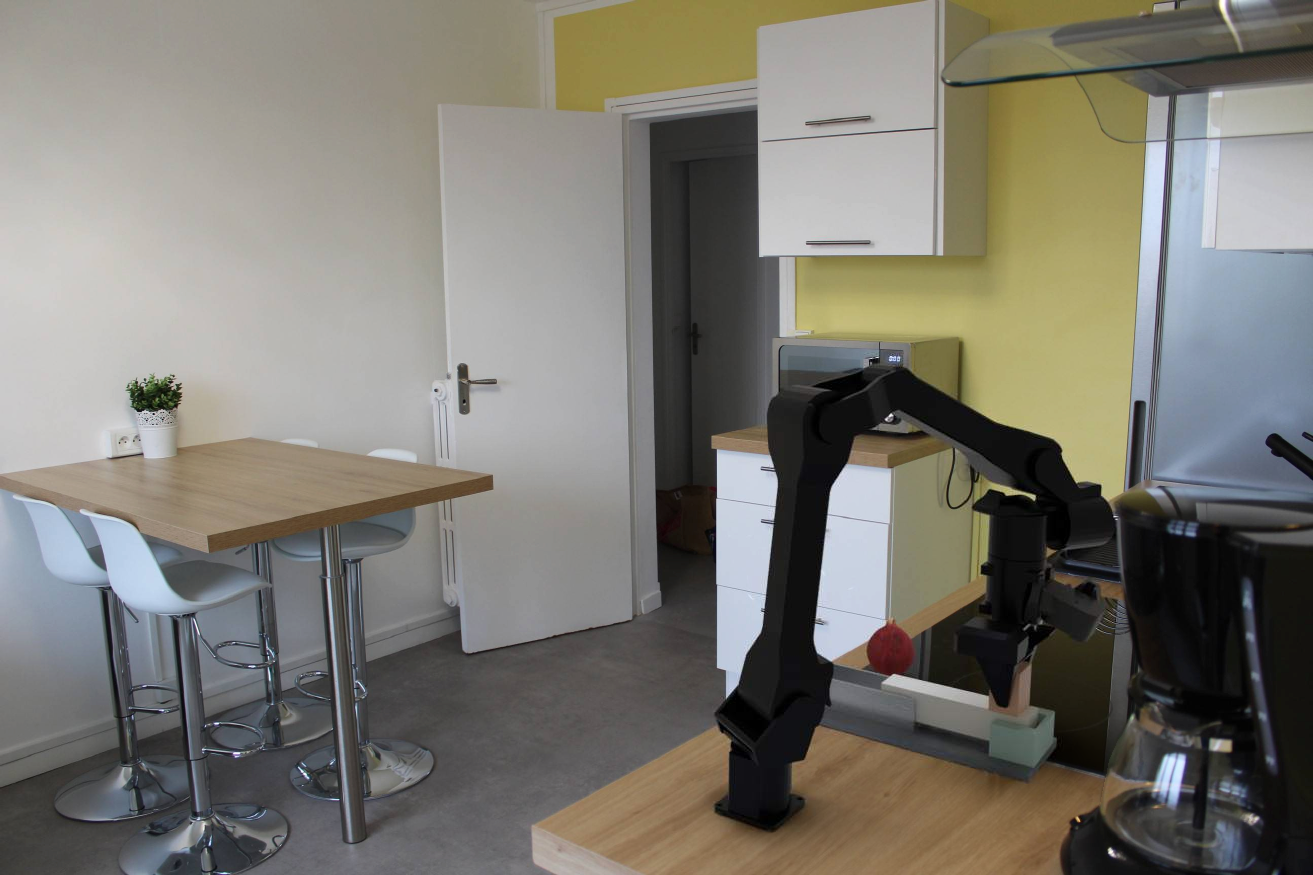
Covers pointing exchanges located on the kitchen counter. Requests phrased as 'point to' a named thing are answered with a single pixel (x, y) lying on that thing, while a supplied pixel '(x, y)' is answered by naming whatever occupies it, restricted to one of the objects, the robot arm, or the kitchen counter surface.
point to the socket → (1022, 739)
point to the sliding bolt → (966, 704)
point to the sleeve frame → (907, 724)
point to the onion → (890, 650)
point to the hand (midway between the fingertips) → (1009, 699)
